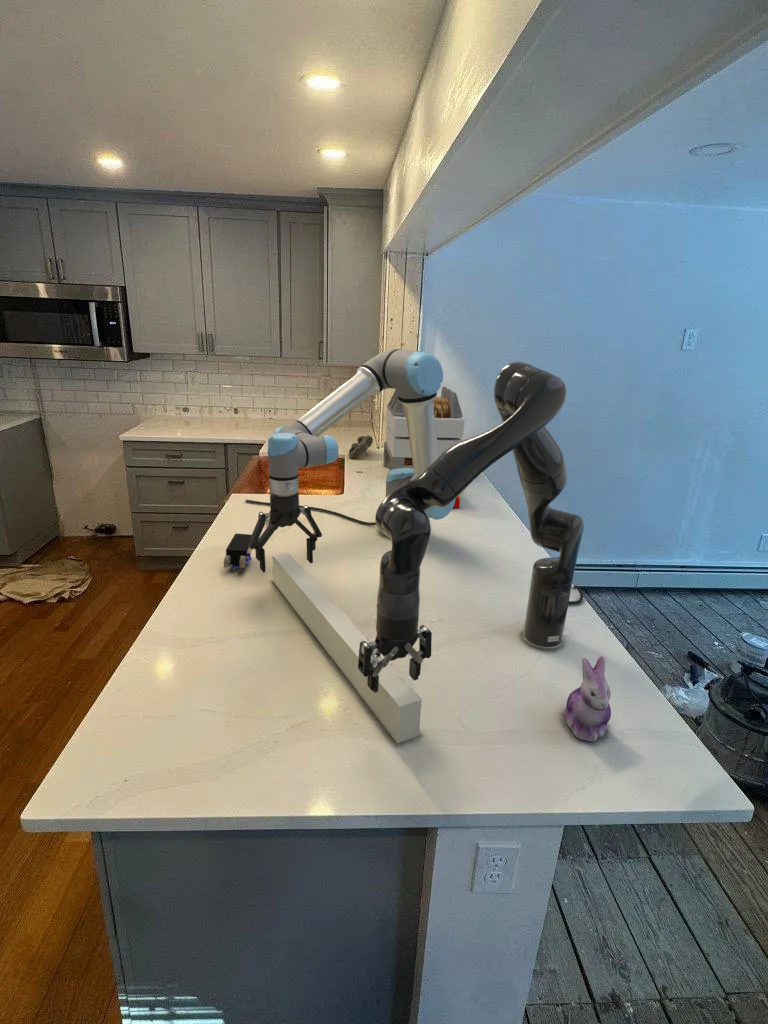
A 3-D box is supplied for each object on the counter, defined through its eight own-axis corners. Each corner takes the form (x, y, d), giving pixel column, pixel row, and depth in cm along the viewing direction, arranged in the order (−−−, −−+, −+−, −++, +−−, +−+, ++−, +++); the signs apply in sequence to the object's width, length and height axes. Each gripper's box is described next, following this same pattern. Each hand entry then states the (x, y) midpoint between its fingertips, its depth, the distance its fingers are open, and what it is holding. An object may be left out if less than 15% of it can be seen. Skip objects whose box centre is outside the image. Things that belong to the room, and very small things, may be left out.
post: (273, 581, 162) (272, 554, 159) (288, 578, 164) (288, 552, 161) (397, 743, 104) (399, 706, 101) (419, 735, 106) (421, 699, 103)
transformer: (382, 463, 289) (386, 382, 275) (445, 464, 293) (451, 384, 279) (390, 482, 257) (394, 392, 243) (460, 483, 261) (468, 394, 247)
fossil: (348, 441, 313) (370, 426, 308) (359, 455, 316) (380, 440, 311) (342, 455, 293) (365, 439, 288) (353, 469, 296) (376, 454, 291)
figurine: (589, 751, 104) (604, 682, 99) (550, 716, 112) (561, 651, 107) (625, 735, 108) (641, 669, 103) (585, 703, 116) (597, 640, 111)
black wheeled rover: (246, 579, 165) (256, 553, 178) (245, 557, 161) (255, 532, 175) (223, 578, 165) (235, 552, 178) (221, 556, 161) (233, 531, 175)
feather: (284, 505, 226) (287, 501, 226) (267, 528, 200) (269, 524, 199) (281, 503, 226) (283, 499, 225) (262, 526, 199) (265, 521, 199)
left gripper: (241, 503, 140) (245, 580, 148) (333, 490, 152) (333, 562, 159) (233, 494, 146) (238, 568, 154) (322, 482, 158) (323, 552, 165)
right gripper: (372, 627, 94) (369, 706, 100) (443, 609, 101) (436, 684, 106) (352, 606, 100) (351, 682, 106) (420, 590, 107) (416, 663, 113)
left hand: (286, 565), depth 156 cm, fingers open, 13 cm apart
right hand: (394, 683), depth 106 cm, fingers open, 8 cm apart
